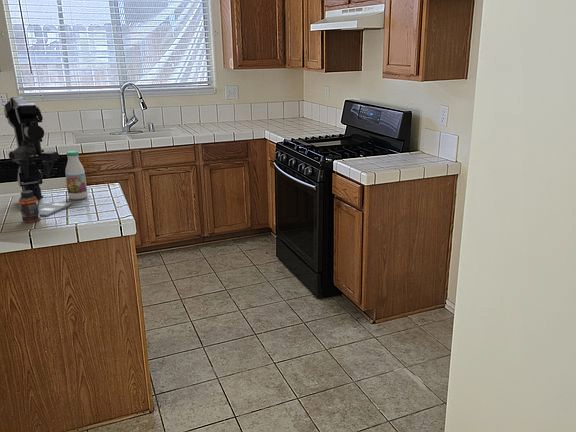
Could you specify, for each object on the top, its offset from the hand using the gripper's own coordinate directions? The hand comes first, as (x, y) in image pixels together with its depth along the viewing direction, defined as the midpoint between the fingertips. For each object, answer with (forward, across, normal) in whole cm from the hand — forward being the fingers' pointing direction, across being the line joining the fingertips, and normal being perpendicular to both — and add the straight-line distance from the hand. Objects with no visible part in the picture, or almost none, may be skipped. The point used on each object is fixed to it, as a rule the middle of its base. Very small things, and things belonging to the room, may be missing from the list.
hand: (37, 176), depth 200 cm
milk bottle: (+13, +4, +18) cm, 23 cm away
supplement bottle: (+13, +7, -15) cm, 21 cm away
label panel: (+13, +4, -1) cm, 14 cm away
